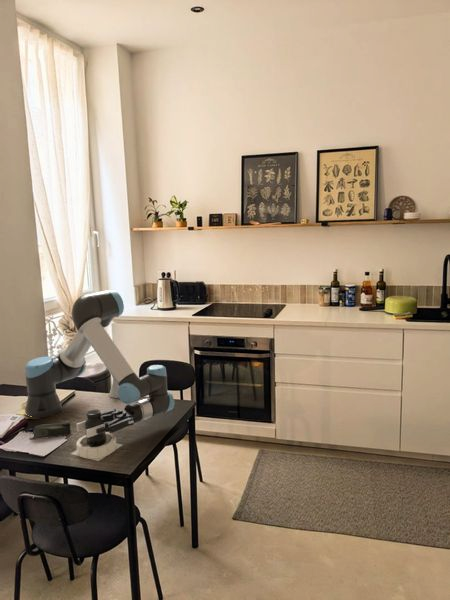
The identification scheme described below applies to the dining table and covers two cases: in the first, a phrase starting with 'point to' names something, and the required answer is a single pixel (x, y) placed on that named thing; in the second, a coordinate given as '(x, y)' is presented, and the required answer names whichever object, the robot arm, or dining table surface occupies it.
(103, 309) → the robot arm
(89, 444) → the supplement bottle
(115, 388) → the flask
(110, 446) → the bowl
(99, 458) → the mat
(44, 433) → the mobile phone
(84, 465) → the dining table surface
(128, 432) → the dining table surface
